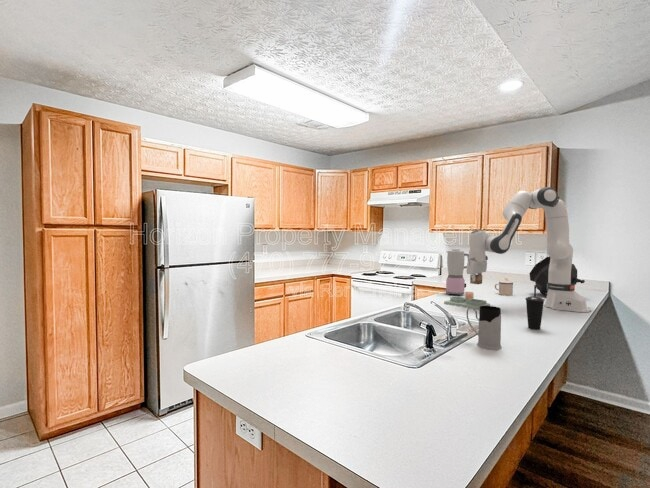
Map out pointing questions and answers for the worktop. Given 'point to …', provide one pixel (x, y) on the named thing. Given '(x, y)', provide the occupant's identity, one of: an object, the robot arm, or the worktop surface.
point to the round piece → (468, 295)
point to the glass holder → (488, 327)
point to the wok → (541, 275)
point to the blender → (455, 272)
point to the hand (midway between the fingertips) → (476, 280)
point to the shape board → (466, 302)
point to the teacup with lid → (505, 287)
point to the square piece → (478, 279)
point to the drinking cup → (534, 310)
